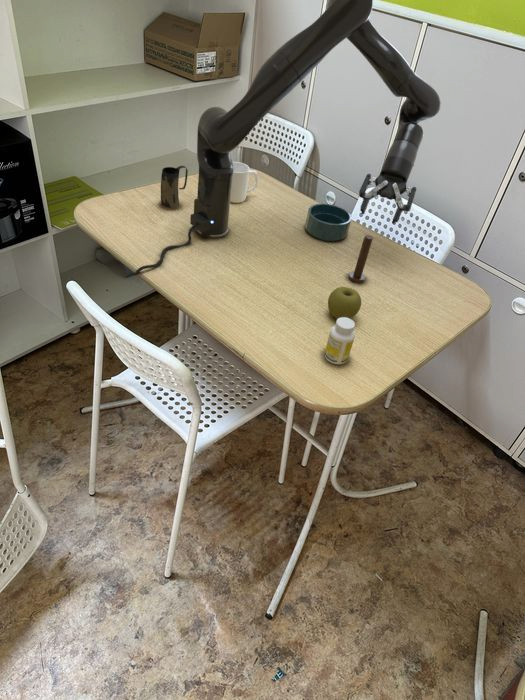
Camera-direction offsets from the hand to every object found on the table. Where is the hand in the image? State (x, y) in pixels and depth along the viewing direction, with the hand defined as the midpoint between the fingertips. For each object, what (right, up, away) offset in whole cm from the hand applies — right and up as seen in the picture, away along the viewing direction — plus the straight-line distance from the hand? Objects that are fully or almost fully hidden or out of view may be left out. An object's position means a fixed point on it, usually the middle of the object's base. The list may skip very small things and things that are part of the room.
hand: (378, 217), depth 139 cm
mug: (-58, +9, +21) cm, 63 cm away
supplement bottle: (-15, -37, -22) cm, 46 cm away
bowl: (-11, +1, +21) cm, 24 cm away
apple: (-12, -27, -10) cm, 31 cm away
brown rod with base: (-5, -16, +3) cm, 17 cm away
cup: (-39, +15, +31) cm, 52 cm away
